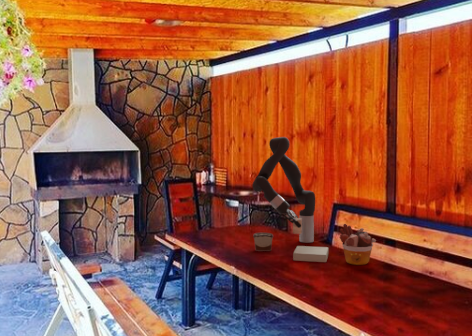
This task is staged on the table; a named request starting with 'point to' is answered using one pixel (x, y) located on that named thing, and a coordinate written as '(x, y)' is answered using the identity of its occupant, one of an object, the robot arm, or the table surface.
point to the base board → (310, 254)
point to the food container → (263, 241)
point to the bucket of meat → (356, 245)
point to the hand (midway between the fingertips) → (300, 225)
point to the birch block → (295, 228)
